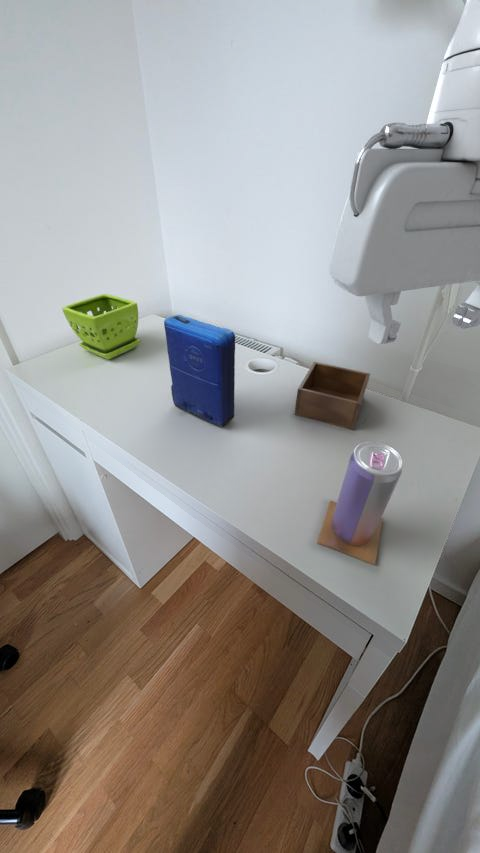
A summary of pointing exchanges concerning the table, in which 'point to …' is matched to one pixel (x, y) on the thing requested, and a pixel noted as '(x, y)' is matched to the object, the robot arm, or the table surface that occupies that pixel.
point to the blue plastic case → (201, 368)
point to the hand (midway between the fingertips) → (423, 332)
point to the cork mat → (357, 551)
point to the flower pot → (104, 324)
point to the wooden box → (331, 395)
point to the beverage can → (366, 491)
